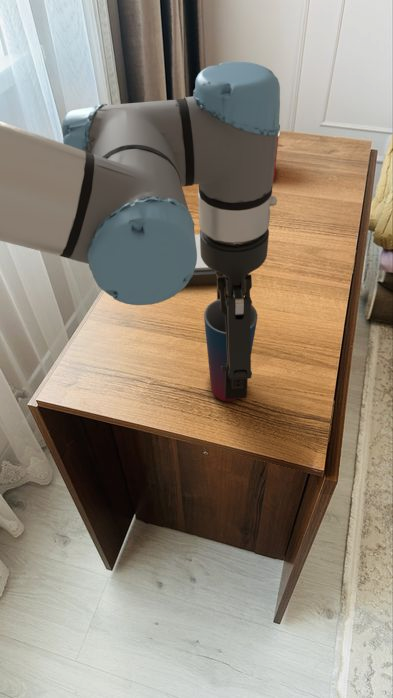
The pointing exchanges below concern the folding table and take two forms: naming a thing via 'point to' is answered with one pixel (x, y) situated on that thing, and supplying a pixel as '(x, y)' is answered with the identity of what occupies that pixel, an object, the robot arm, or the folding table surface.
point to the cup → (220, 345)
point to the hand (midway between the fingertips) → (230, 357)
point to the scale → (202, 269)
